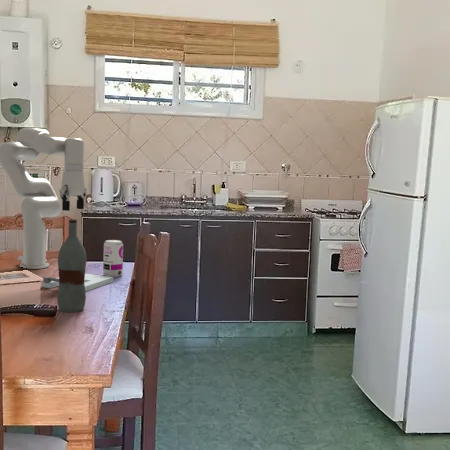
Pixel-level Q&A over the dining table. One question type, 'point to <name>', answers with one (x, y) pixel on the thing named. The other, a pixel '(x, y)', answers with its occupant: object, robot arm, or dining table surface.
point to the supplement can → (113, 258)
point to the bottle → (71, 272)
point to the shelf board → (89, 281)
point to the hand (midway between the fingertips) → (73, 209)
